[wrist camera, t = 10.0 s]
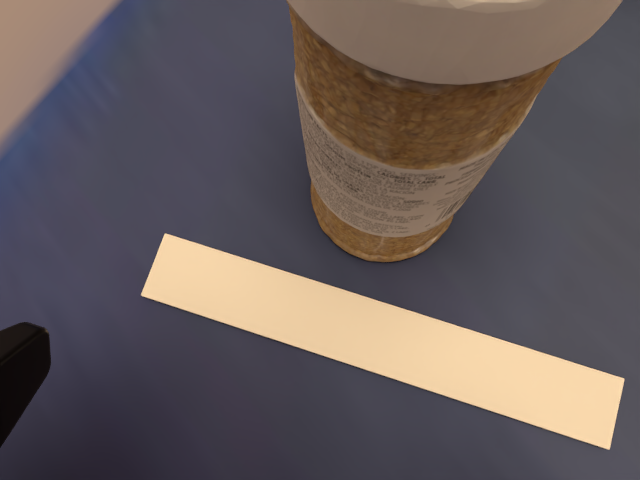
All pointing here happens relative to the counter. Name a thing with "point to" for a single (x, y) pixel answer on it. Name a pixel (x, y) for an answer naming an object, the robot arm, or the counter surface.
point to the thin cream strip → (387, 340)
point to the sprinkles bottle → (418, 105)
